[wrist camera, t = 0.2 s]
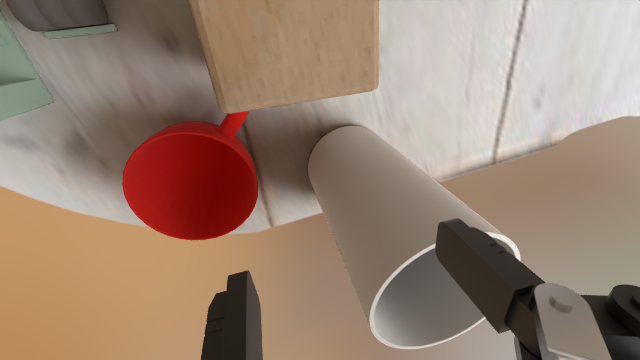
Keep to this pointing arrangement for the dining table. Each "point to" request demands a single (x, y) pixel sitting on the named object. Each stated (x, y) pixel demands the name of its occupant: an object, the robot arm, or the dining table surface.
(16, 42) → the roller track
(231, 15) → the wooden block
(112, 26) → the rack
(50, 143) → the dining table surface
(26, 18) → the roller
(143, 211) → the ceramic cup
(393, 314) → the cylinder vase
